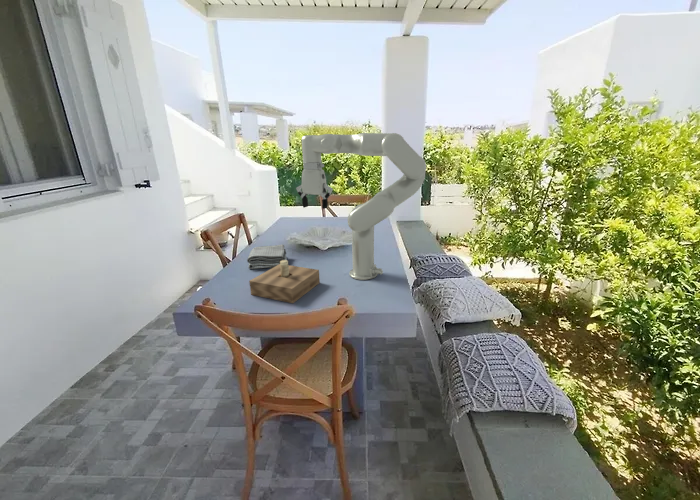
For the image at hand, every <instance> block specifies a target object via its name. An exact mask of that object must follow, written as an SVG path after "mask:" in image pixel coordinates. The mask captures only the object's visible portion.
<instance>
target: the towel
mask: <svg viewBox="0 0 700 500" xmlns="http://www.w3.org/2000/svg"><path fill="white" fill-rule="evenodd" d="M282 260H287V251H286V249H285V244H283V243H282V244H278V245H277V244H275V245H264V246H255V247H253V248H252V249H251V250H250V252H249V255H248V257H247V259H246V261H247V263H248V267H247V268H248V269H249V270H258V269H259V270H260V269H261V270H262V269H268V268H269V269H272V268H274V267H275V266H277V265H279V264H280V261H282ZM287 261H288V260H287Z"/></svg>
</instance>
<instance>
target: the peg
mask: <svg viewBox="0 0 700 500" xmlns="http://www.w3.org/2000/svg"><path fill="white" fill-rule="evenodd" d="M288 265H289V260H282V261H280V268H281V277H284V278H287V277H289V267H288Z"/></svg>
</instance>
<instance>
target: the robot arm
mask: <svg viewBox="0 0 700 500" xmlns="http://www.w3.org/2000/svg"><path fill="white" fill-rule="evenodd" d="M301 149H302V150H301V151H302V164H303V165H302V166H303V169H302V173H301V184H300V185H298V186H297V187H295V189H296V191H297V194H298V196H300V199H301V201H302V202H301V203H302V204H301V205H302V208H303V209H304V208H305V209H306V208H307V207H309V201H308V200H309V199H308V197H307V196H308V195H315V196H316V195H319V196H321V198H322V199H321V203H322V204H321V206H322V207H321V208H322V209H323V210H324V209H327V208H328V206H329V205H328V204H329V202H328V201H329V200H328V199H329V198H330V196H331V195H332V192H333V188H332V187H331V186H330V185H328V184H327V179H326V175H325V174H326V173H325V170H324V169H323V168H325V164H324V163H323V162H322V154H327V155H329V154H330V155H331V154H353V155H354V154H355V155H359V156H364V157H368V156H369V157H386V158H388V159H389V161H390V162H391V163H392V164H393V165H395V167H396V168H397V169H398V170H399V171H400V172H401V173H402V174H403V175H402V176H401V177H400V178H399V179H398V180H396V181H394V182H393V183H392V184H390V185H389V186H387V187H386V188H384V189H382V190H381V191H378V192H376V194H374V196H372V197H371V198H370V199H369V200H366V201H365V202H364V203H361V204H357V205H356V206H354V208H352V210H351V211H350V212H349V214H348V216H347V226H348V227H349V228H350V230H351V249H352V251H351V252H352V253H351V254H352V255H351V257H352V269H351V270H350V271H349V273H348V274H349V277H350V278H351V279H355V280H360V281H365V280H366V281H368V280H372V279H375V278H376V277H377V276H378V275H383V273H384V270H383V268H379V267H377V264H375V255H374V254H375V246H374V245H375V226H376V225H377V224H380V223H381V222H383V221H385V219H387V218H388V217H390V216H392V213H393V212H394V210H395V208H397V206H399V205H401V204H402V203H404V202H405V201H407V200H408V199H410V198H411V197H413V196H414V195H415V194H416V193H418V191H420V188H421V187H422V185H423V183H424V181H425V178H426V170H427V164H426V161H425V159H424V158H423V157H422V156H421V155H419V153H418V152H416V150H415V149H413V147H411V145H410V144H409V143H408V142H407V141H406V140H405V139H404V137H403V135H401V134H399V133H396V132H392V133H387V132H386V133H385V132H384V133H383V132H380V133H379V132H377V133H375V132H373V133H372V132H361V133H358V134H335V133H334V134H333V133H325V134H318V135H317V134H312V135H311V134H308V135H303V136H302V137H301Z"/></svg>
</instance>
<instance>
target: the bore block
mask: <svg viewBox="0 0 700 500" xmlns="http://www.w3.org/2000/svg"><path fill="white" fill-rule="evenodd" d="M288 267H289V277H287V278H284V277H281V268H280V264H279V265H277V266H275V267H271V268H269V269H268V270H266V271H264V272H263V273H261V274H259V275H257V276H255V277H254V278H251V279H250V280H249V282H248V283H249V288H250V296H255V297H261V298H266V299H271V300H275V301H280V302H284V303H290V304H294V303H296V302H297V301H298V300H300V299H301V298H302V297H304V295H306V294H307V293H309V292H310V291H311V290H313V289H314V288H315V287H316V286H318V285H320V282H321V281H320V280H321V279H320V269H316V268H310V267H309V268H308V267H303V266H296V265H289V264H288Z"/></svg>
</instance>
